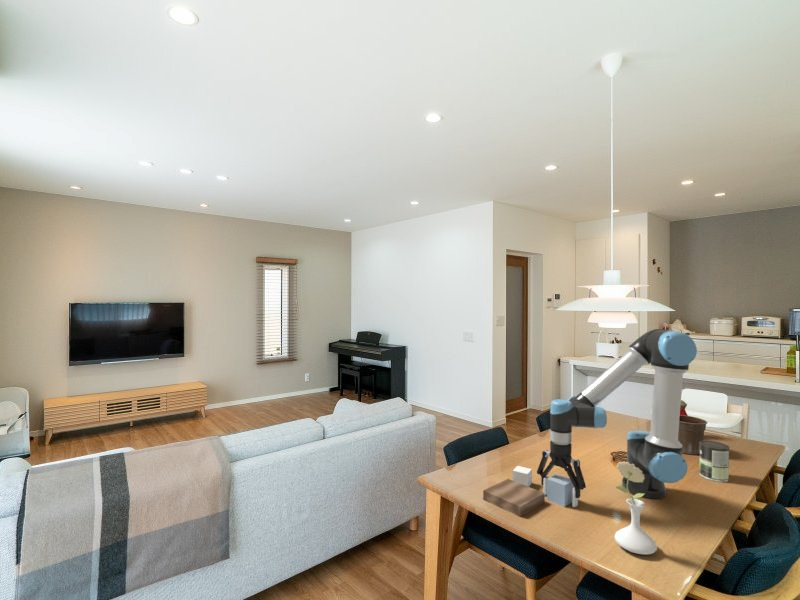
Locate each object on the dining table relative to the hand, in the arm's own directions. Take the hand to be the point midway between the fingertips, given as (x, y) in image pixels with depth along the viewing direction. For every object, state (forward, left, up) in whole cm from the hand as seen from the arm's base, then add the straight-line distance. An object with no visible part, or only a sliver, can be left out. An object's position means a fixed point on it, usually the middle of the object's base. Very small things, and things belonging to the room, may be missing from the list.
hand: (560, 499), depth 155 cm
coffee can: (-32, -71, 0) cm, 78 cm away
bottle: (-4, -122, 0) cm, 122 cm away
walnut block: (+11, +14, -1) cm, 18 cm away
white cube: (+17, -1, 0) cm, 17 cm away
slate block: (0, 0, 0) cm, 0 cm away
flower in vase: (-29, +10, 0) cm, 31 cm away
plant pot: (-15, -99, 0) cm, 100 cm away
